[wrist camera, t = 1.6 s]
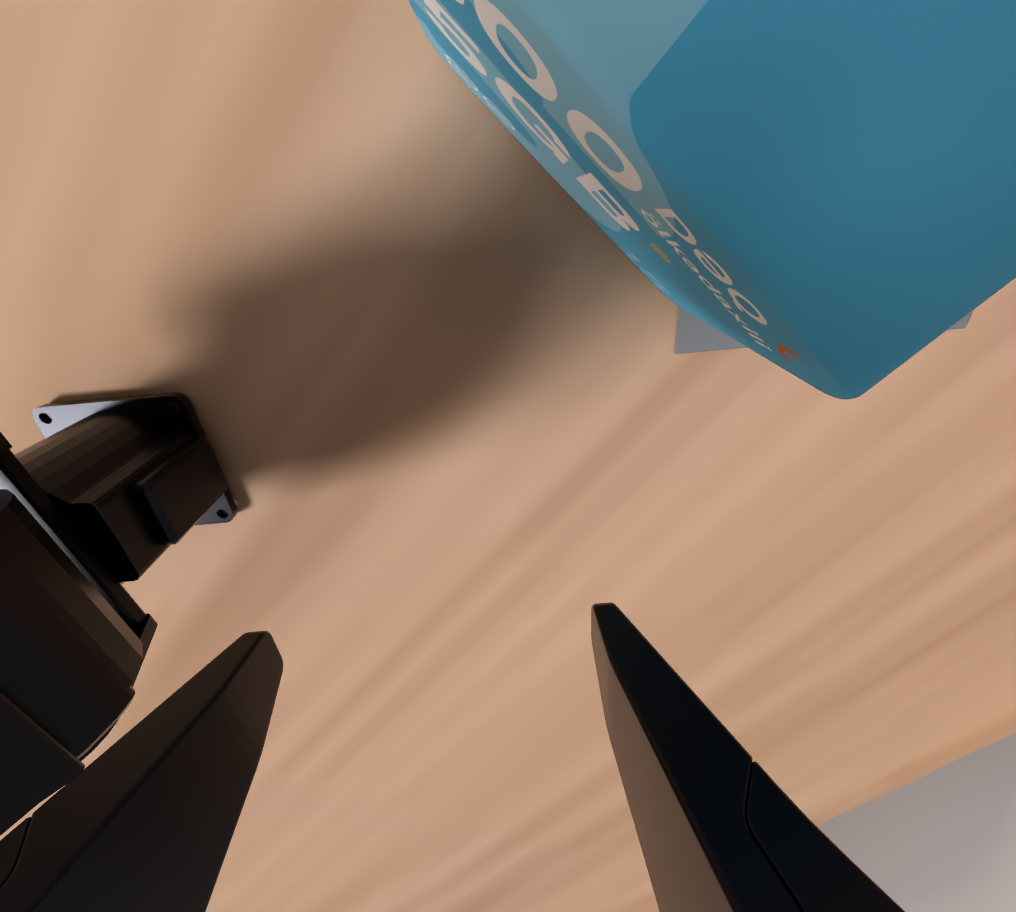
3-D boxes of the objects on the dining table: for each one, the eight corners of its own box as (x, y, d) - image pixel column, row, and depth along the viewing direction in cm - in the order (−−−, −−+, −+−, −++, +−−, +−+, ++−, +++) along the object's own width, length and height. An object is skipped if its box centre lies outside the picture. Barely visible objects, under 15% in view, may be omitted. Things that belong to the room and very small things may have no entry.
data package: (427, 44, 15) (233, -345, 4) (522, -111, 13) (587, -1338, 3) (669, 302, 19) (882, 432, 8) (766, 206, 17) (1189, 211, 7)
